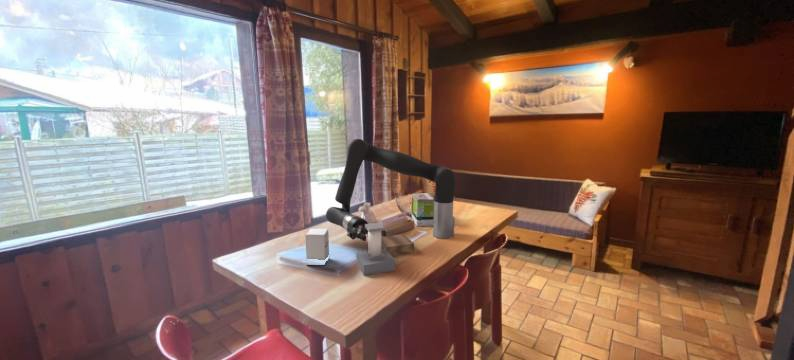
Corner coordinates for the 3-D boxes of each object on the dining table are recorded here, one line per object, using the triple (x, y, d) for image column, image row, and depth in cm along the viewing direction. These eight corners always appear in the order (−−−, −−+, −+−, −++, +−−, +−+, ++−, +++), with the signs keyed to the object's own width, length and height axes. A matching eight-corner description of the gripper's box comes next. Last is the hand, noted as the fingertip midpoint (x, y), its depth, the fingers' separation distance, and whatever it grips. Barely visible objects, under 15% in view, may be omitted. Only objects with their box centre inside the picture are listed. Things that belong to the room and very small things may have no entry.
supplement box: (325, 266, 123) (324, 234, 121) (306, 266, 123) (304, 234, 121) (329, 258, 130) (328, 228, 128) (311, 258, 131) (310, 228, 128)
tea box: (435, 225, 171) (435, 198, 168) (416, 226, 170) (416, 199, 167) (428, 217, 186) (429, 192, 183) (411, 218, 184) (411, 192, 182)
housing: (380, 252, 127) (380, 222, 124) (384, 258, 121) (384, 227, 119) (365, 254, 125) (364, 224, 122) (369, 260, 119) (368, 229, 117)
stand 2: (403, 242, 147) (403, 234, 147) (413, 252, 136) (413, 243, 136) (378, 245, 143) (378, 237, 143) (386, 256, 132) (386, 247, 132)
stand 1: (385, 257, 131) (385, 248, 130) (395, 270, 120) (395, 260, 119) (356, 262, 127) (356, 252, 126) (363, 275, 116) (363, 265, 115)
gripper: (339, 219, 129) (358, 230, 116) (369, 213, 137) (391, 223, 124) (339, 236, 131) (358, 250, 118) (369, 230, 139) (391, 241, 126)
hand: (375, 236), depth 121 cm, fingers open, 8 cm apart
